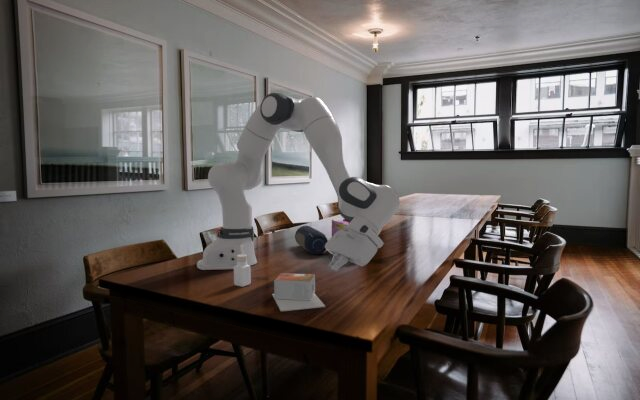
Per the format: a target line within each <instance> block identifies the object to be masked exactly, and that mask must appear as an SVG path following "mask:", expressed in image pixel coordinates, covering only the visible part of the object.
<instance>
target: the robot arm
mask: <svg viewBox="0 0 640 400" xmlns="http://www.w3.org/2000/svg"><path fill="white" fill-rule="evenodd" d="M280 129H284V130H290V131H294V132H298V133H299V132H300V133H303V134H304V135H305V138H306V140H307V142H308V143H309V145H310V147H311V148H312V150H313V152H314V153H315V154H316V156H317V158H318V159H319V161H320V163H321V164H322V165H323V167H324V169H325V171H326V174H327V175H328V177H329V180H330V182H331V184H332V186H333V188H334V191H335V193H336V196H337V209H338V213H339V215H340V216H341V217H342V218H343V219H346V220H349V221H351V222H350V223H349V224H348V226H347V227H346V228H345V229H343V230H339V231H338V232H336V233H335V234H334V235H333V236H332V235H331V237H330V238H329V239H327V240H328V242H327V243H326V244H325V248H326V251H328V253H330V254H331V255H332V258H331V261H330V262H329V264H328V268H329V269H330V270H332V271H335V272H338V270H339V269H340V268H341V267H343V266H345V265H346V264H347V263H348V262H350V263H353V264H354V265H358V266H359V267H364V266H366V265H368V263H370V261H371V260H372V258H374V256H375V255H376V253H377V252H378V249H380V248H382V247H383V245H384V244H385V242H383V240H382V239H381V237H380V236H379V235H380V234H381V231H382V229H383V228H384V226H386V225H387V224H389V222H390V221H391V220H392V218H393V217H394V216H395V214H396V212H397V211H398V210H399V207H400V203H401V200H400V197H399V195H398V193H397V192H396V190H395V189H393V187H391V186H389V185H387V184H375V183H372V182H368V181H366V180H364V178H361V177H358V176H351V177H350V174H349V173H348V170H347V168H346V165H345V163H344V162H345V161H344V155H343V154H344V153H343V138H342V133H341V130H340V127H339V124H338V122H337V120H336V118H335V117H334V115H333V113H332V112H331V110H330V109H329V107H328V106H327V105H326V104H325V102H324V101H323V100H322V99H321V98H319V97H318V96H317V97H316V96H309V97H306V98H304V99H303V100H300V99H298V98H296V97H292V96H290V95H285V94H283V93H281V92H271V93H268V94H266V95H265V96H264V97H263V99H262V100H261V103H260V104H259V105H258V106H257V107H256V108H255V109H254V111H253V112H252V113H251V115H250V117H249V119H248V121H246V123H245V126H244V128H243V130H242V132H241V133H240V135H239V138H238V140H237V142H236V147H237V148H236V149H237V150H238V155H237V159H236V160H235V161H233V162H232V161H229V162H227V161H224V162H220V163H218V164H215V165H212V167H211V168H210V169H209V171H208V175H207V180H208V183H209V186H210V187H211V188H212V189H213V190H214V191H215V193H216V194H217V196H218V199H219V201H220V205H221V210H222V211H221V212H222V213H221V215H222V227H217V228H215V231H216V234H217V238H216V239H215V240H213V241H211V243H209V244H208V245H207V246H206V247H205V248H204V251H203V253H202V259H200V260H198V261H197V262H196V267H197V269H199V270H202V271H206V270H209V271H210V270H234V266H236V265H237V255H242V254H244V255H247V265H249V266H250V267H251V266H253V265H256V264H257V263H258V261H257V260H258V259H257V257H256V252H255V247H254V239H255V235H254V234H255V233H254V232H255V229H254V226H253V209H252V205H251V203H249V202H248V201H247V199H246V195H245V191H249V190H252V189H255V188H257V187H258V186H259V185H260V184H261V183H262V180H263V171H262V164H263V161H264V158H265V156H266V153H267V152H268V150H269V148H270V146H271V144H272V142H273V140H274V138H275V135H276V134H277V132H278V131H279V130H280Z"/></svg>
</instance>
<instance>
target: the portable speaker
mask: <svg viewBox="0 0 640 400" xmlns="http://www.w3.org/2000/svg"><path fill="white" fill-rule="evenodd" d="M294 239H295V241H296V243H297V245H298V246H300V247H302V248H303V249H304V250H305V251H307V252H308V253H309V254H311V255H315V256H317V255H321V254H323V253H324V252H326V251H327V249H326V248H325V244H326V243H327V242H328V240H329V239H328V238H327V236H326V234H324V233H323V232H321V231H319V230H317V229H315V228H314V227H312V226H309V225H302V226H300V227H298V228H297V229H296V231H295V234H294Z"/></svg>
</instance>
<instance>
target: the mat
mask: <svg viewBox="0 0 640 400" xmlns="http://www.w3.org/2000/svg"><path fill="white" fill-rule="evenodd" d="M271 295H272V297H273V299H274V301H275V303H276V305H277V307H278V309H279V311H280V312H281V313H282V312H290V311H291V312H292V311H299V310H308V309H317V308H319V309H320V308H326V305H325V304H324V302H323V301H322V300H321V299H320V298H319V297H318V296H317V295H316V293H314V295H313V297H312V299H311V300H310V301H306V300H283V299H275V297H274V293H272V294H271Z"/></svg>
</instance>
